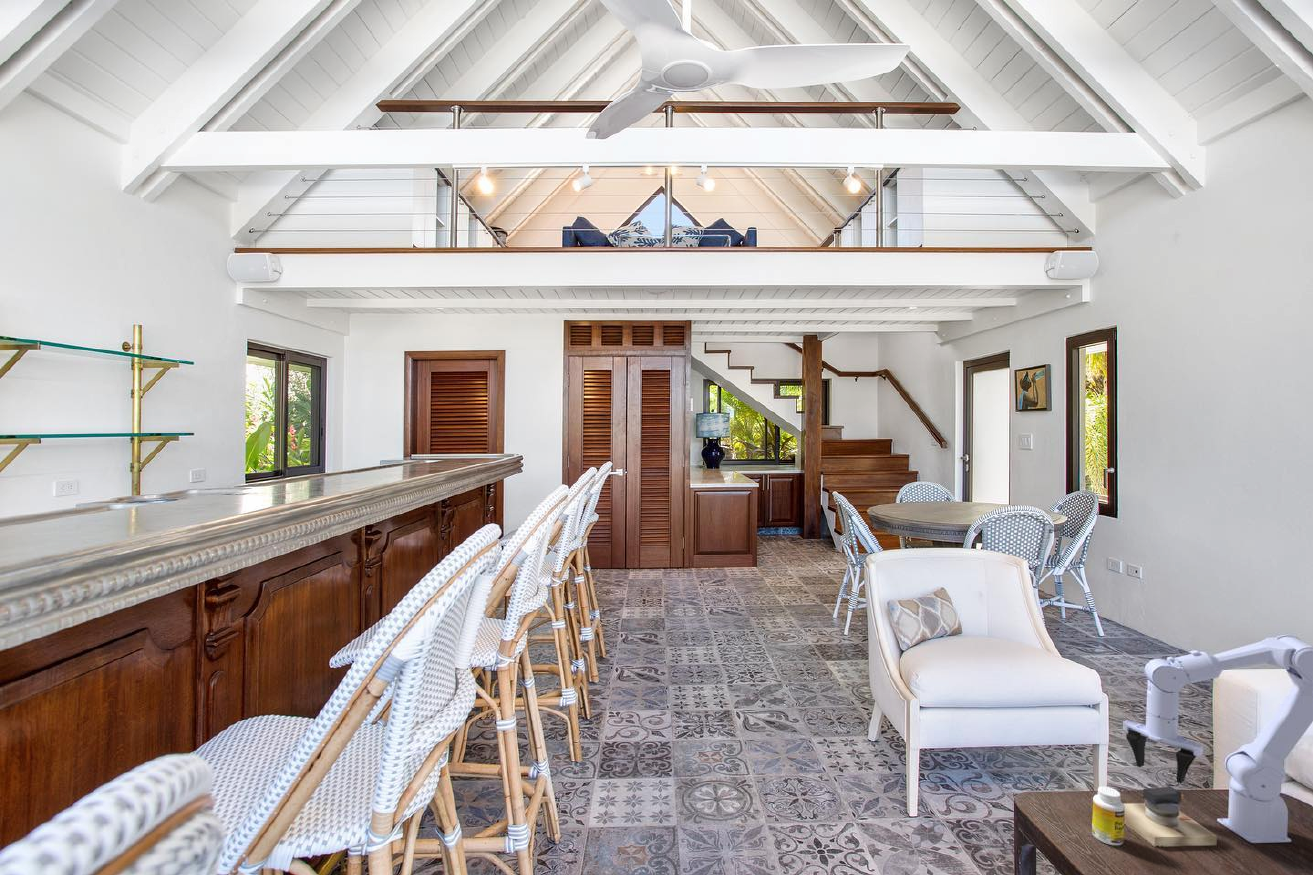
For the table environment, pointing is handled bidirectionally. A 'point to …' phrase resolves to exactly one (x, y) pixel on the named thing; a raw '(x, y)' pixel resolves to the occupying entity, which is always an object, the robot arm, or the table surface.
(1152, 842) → the cream base plate
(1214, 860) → the table surface
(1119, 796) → the supplement bottle
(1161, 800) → the rotary knob
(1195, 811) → the table surface
